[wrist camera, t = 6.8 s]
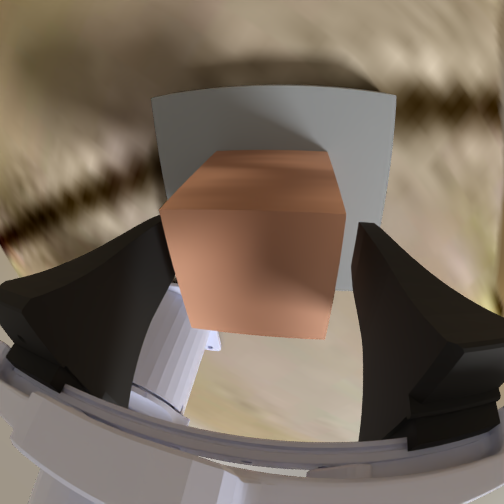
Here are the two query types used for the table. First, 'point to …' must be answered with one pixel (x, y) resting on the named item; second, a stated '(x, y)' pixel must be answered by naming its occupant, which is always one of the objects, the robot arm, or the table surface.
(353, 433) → the table surface
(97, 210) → the table surface
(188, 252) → the terracotta cube
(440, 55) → the table surface
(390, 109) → the gray plinth
